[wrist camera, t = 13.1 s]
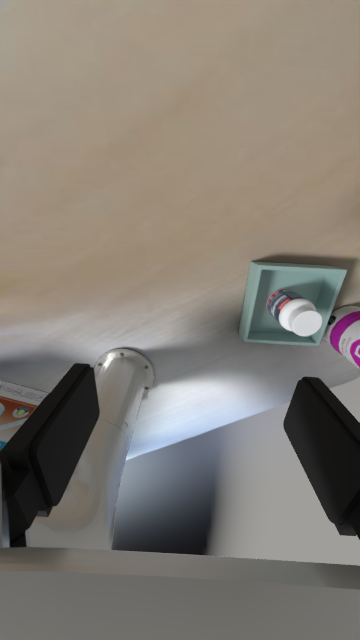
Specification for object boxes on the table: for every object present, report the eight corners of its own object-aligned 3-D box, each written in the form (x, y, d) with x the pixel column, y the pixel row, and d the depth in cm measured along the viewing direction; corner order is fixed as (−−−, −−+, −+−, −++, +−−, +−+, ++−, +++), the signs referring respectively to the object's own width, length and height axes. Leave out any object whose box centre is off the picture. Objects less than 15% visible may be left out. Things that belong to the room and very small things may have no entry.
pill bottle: (273, 284, 35) (299, 301, 27) (301, 292, 36) (335, 310, 27) (260, 312, 37) (281, 335, 29) (287, 319, 38) (315, 344, 30)
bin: (306, 335, 40) (318, 346, 36) (237, 331, 40) (243, 342, 36) (330, 265, 34) (347, 269, 31) (250, 261, 34) (258, 265, 31)
